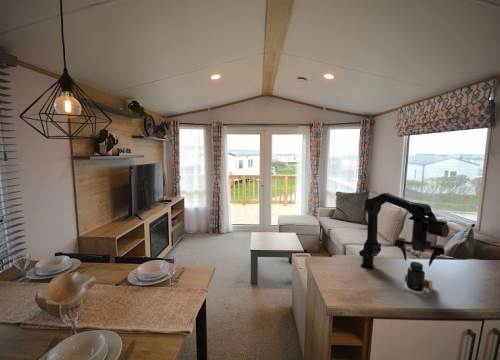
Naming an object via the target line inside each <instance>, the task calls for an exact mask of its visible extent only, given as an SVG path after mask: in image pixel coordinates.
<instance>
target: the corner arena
mask: <svg viewBox="0 0 500 360" xmlns="http://www.w3.org/2000/svg"><path fill="white" fill-rule="evenodd" d="M403 283H404V284H403V288H402V289H403V290H402V291H404V292H407V293H410V294H414V295H417V296H420V297H421V296H422V297H425V298H429V299H430V300H431V299H433V295H434V294H433V293H434V286H433V283H434V282H433V280H429V279H426V278H425V279H424V290H423V291H414V290H411V289H409V288H408V287H407V273H406V274H405V275H404V282H403Z"/></svg>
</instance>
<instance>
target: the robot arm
mask: <svg viewBox="0 0 500 360" xmlns="http://www.w3.org/2000/svg"><path fill="white" fill-rule="evenodd" d="M386 203H389V204H391V205H394V206H396V207H398V208H402V209H404V210H406V211H407V213H409V214H411V216H410V217H408V220H409V221H413V222H412V230H411V231H412V234H411V241H407V240H406V238H403V237H396V238H395V240H394V246H395V247H397V248H398V249H400V250H401V253H402V254H403V258H404V261H405V262H406V261H407V257H408V256H407V246H409V247H411V250H412V251H419V252H421V253H425V252H426V251H430V250H431V253H430V255H429V261H428V267H430V266H431V265H432V264H433V261H434V260H435V258H437V256H438V257H441V256H445V252H446V250H445V246H444V245H442V244H437V243H433V244H432V241H429V240H427V239H428V234H430V235H433V236H437V237H440V238H447V237H448V236H449V234H450V227H449V225H448V222H447V221H444V220H438V218H437V217H436V215H435V214H434V212H433V211H432V207H431V206H430V205H429V204H427V203H422V202H417V201H416V202H413V201H410V200H407V199H405V198H402V197H399V196H396V195H394V194H391V193H389V192H383V193H380V194H379V195H376V196H374V197H371V198H367V199H366V200H365V201H364V208H365V211H366V213H367V232H366V233H367V234H366V237H367V238H366V240H365V242H364V244H363V249H361V250H360V251H358V254H359V256H360V257H362V259H361V261H362V262H361V264H360V265H359V267H361V268H365V269H369V270H374V268H375V264H374V257H377V256H378V254H380V253H381V251H382V243H380V242H379V241H378V221H379V220H378V219H379V217H378V216H379V213H380V211H381V210H382V205H384V204H386Z"/></svg>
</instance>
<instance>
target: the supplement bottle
mask: <svg viewBox="0 0 500 360" xmlns="http://www.w3.org/2000/svg"><path fill="white" fill-rule="evenodd" d="M423 266H424V264H423V263H421V262H417V261H411V262H410V266H409V267H408V268H407V271H406V272H407V273H406V275H407V287H408V288H409V289H411V290H414V291H423V290H424V279H426V277H425V275H426V273H425V271H424V270H423V269H424V267H423Z"/></svg>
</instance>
